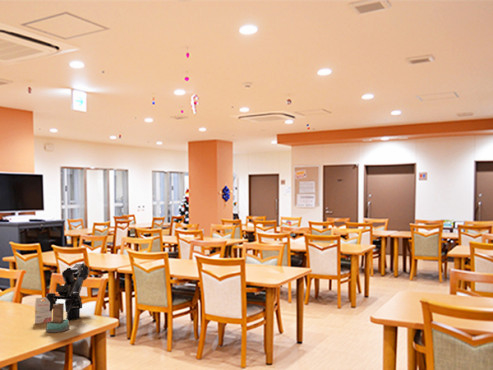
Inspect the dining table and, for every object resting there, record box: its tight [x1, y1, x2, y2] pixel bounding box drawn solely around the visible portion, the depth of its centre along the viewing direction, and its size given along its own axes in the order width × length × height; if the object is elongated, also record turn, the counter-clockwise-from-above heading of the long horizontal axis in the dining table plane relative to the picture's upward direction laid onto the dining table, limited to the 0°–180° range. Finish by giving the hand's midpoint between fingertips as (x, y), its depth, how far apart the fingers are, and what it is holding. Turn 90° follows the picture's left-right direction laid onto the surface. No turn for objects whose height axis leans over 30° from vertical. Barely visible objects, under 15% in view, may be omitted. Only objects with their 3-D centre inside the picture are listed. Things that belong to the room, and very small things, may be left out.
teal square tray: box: [45, 319, 70, 334], centre depth 233 cm, size 12×12×4 cm
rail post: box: [52, 302, 65, 323], centre depth 233 cm, size 4×4×13 cm
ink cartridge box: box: [34, 297, 53, 324], centre depth 248 cm, size 9×5×15 cm, turn 105°
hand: (58, 311), depth 234 cm, fingers open, 9 cm apart
